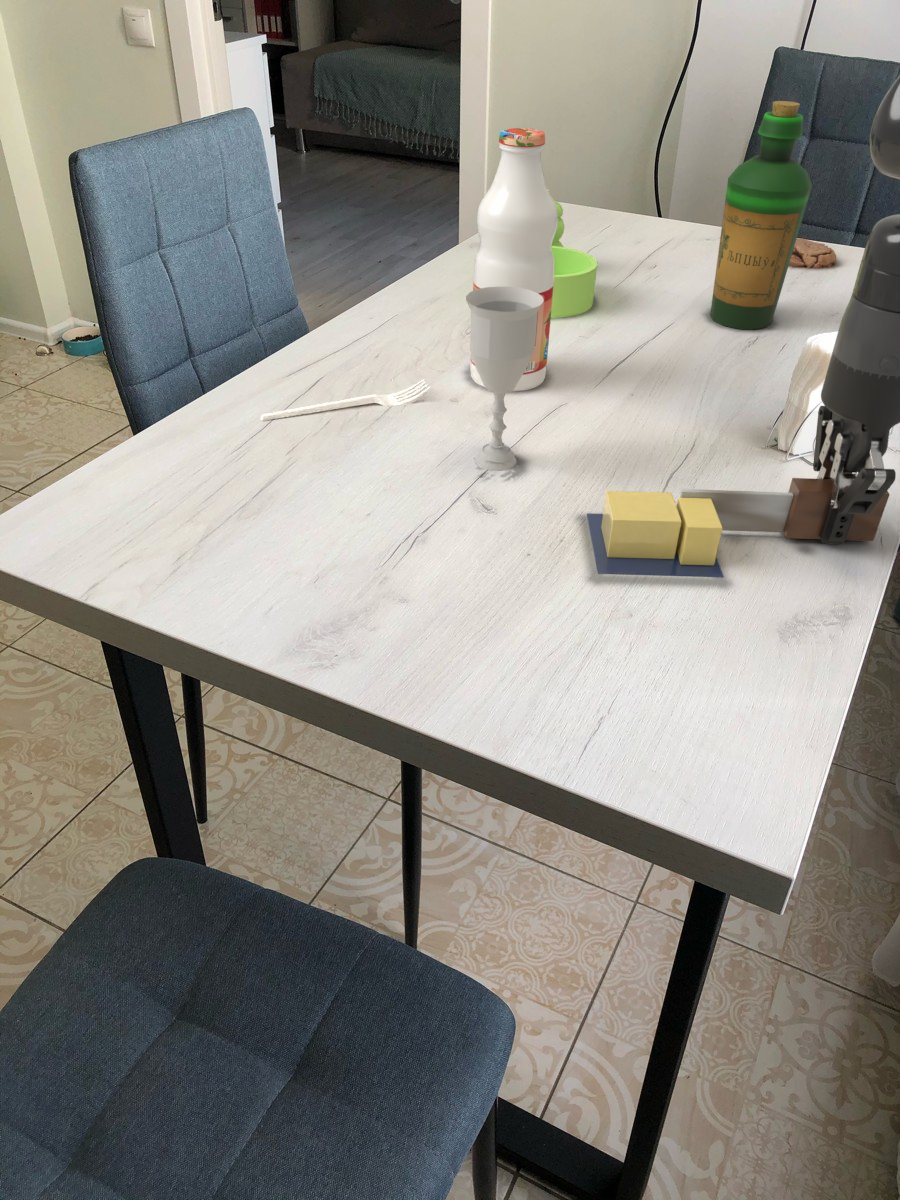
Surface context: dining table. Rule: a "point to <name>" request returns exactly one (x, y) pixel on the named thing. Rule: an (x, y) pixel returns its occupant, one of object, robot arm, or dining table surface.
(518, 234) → the fruit juice
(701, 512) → the butter slice
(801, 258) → the cookie
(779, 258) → the bottle
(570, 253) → the food container
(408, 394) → the fork
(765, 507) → the knife
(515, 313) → the chalice
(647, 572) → the butter dish
